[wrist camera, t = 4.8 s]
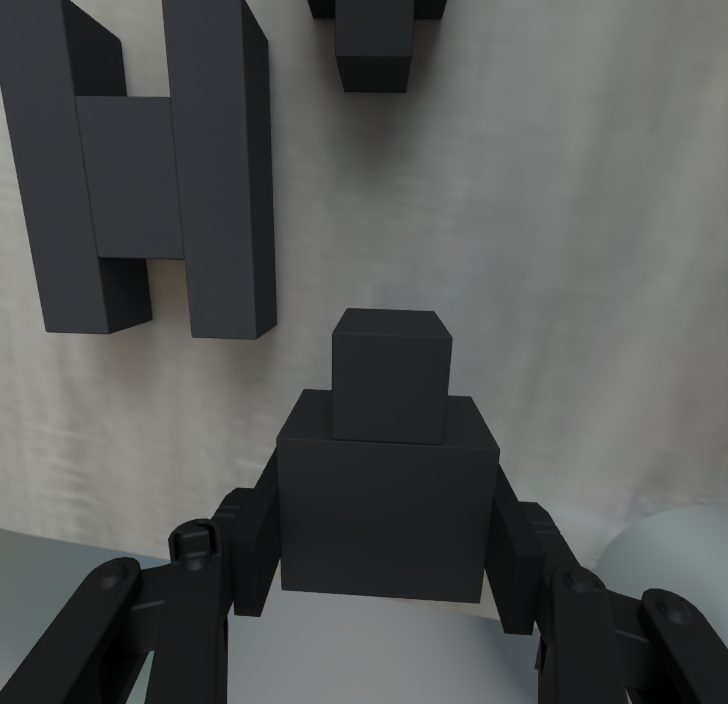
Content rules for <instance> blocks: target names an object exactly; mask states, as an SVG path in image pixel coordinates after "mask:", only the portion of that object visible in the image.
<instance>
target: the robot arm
mask: <svg viewBox="0 0 728 704" xmlns="http://www.w3.org/2000/svg"><path fill="white" fill-rule="evenodd" d="M168 542H169V550H170V558H171V563H170V564H167V565H163V566H159V567H154V568H148V569H143V570H141V568H140V564H139V562H138V561H137V560H135V559H134V558H128V557H122V558H115V559H112V560H110V561H107V562H105V563H103V564H101V565H100V566H98V567H97V568H95V569H94V570H93V571H91V572H90V573H89V574H88V576H87V577H86V578H85V579H84V581H83V582H82V583H81V584H80V586H79V587H78V588H77V590H76V591H75V592H74V594H73V595H72V596H71V598H70V599H69V601H68V602H67V603H66V605H65V606H64V607H63V608H62V610H61V611H60V612H59V614H58V615H57V616H56V618H55V619H54V620H53V622H52V623H51V624H50V626H49V627H48V628H47V630H46V631H45V632H44V634H43V635H42V637H41V638H40V639H39V641H38V642H37V643H36V644H35V646H34V647H33V648H32V650H31V651H30V653H29V654H28V655H27V656H26V658H25V659H24V660H23V662H22V663H21V664H20V666H19V667H18V668H17V670H16V671H15V672H14V674H13V675H12V676H11V678H10V679H9V680H8V682H7V683H6V685H5V686H4V687H3V689H2V690H1V691H0V704H126V701H127V699H128V697H129V695H130V693H131V691H132V688H133V686H134V684H135V682H136V680H137V678H138V675H139V673H140V671H141V669H142V667H143V664H144V662H145V660H146V658H147V656H148V654H149V652H150V651H154V650H155V651H154V657H153V662H152V667H151V672H150V677H149V682H148V687H147V693H146V698H145V703H144V704H227V672H228V670H227V668H228V667H227V666H228V619H227V615H228V612H229V610H230V607H231V605H232V603H233V602H234V615H238V616H254V617H260V616H261V613H262V610H263V607H264V604H265V601H266V598H267V595H268V592H269V589H270V586H271V583H272V580H273V577H274V574H275V571H276V568H277V565H278V562H279V559H280V556H281V535H280V508H279V486H278V473H277V446H276V448H275V450H274V452H273V454H272V456H271V458H270V459H269V461H268V463H267V465H266V467H265V469H264V471H263V473H262V474H261V476H260V478H259V480H258V482H257V484H256V486H255V487H254V488H235V489H234V490H233V491H232V492H230V493H229V494H228V495H226V496H225V498H224V499H223V501H222V502H221V504H220V506H219V508H218V509H217V510H216V512H215V514H214V516H213V517H212V518H211V520H210V519H195V520H191V521H188V522H185V523H184V524H182V525H180V526H178V527H177V528H176V529H175V530H174V531H173V532H171V534H170V536H169V538H168ZM484 567H485V570H486V574H487V577H488V580H489V583H490V587H491V590H492V593H493V597H494V600H495V603H496V607H497V610H498V613H499V616H500V620H501V623H502V626H503V630H504V633H507V634H520V635H532V632H533V627H534V621H536V623H537V626H538V628H539V631H540V633H541V637H540V642H539V648H538V653H537V658H536V664H535V669H537V670H538V704H628V700H627V694H626V690H627V692H628V695H629V697H630V699H631V701H632V704H728V649H727V647H726V646H725V645H724V643H723V642H722V640H721V639H720V637H719V636H718V635H717V633H716V632H715V631H714V629H713V628H712V626H711V625H710V624H709V622H708V621H707V620H706V618H705V617H704V615H703V614H702V613H701V612H700V611H699V610H698V609H697V608H696V607H695V606H694V605H693V604H691V603H690V602H689V601H687V600H686V599H684V598H683V597H681V596H679V595H677V594H675V593H673V592H670V591H666V590H662V589H648V590H646V591H644V593H643V595H642V599H641V600H638V599H635V598H631V597H628V596H625V595H622V594H618V593H615V592H613V591H610V590H608V589H606V587H605V585H604V583H603V582H602V581H601V580H600V579H599V578H598V576H596V575H595V574H594V573H592V572H591V571H589V570H588V569H586V568H583V567H581V566H580V564H579V563H578V561H577V559H576V558H575V556H574V554H573V553H572V551H571V549H570V548H569V546H568V544H567V543H566V541H565V539H564V538H563V536H562V535H561V534H560V531H559V530H558V528H557V526H555V523H554V521H553V520H552V518H551V516H550V515H549V513H548V512H547V511H546V510H545V509H544V508H542V507H541V506H540V505H539V504H538V503H536V502H519V501H518V499H517V497H516V495H515V493H514V491H513V490H512V488H511V486H510V484H509V482H508V480H507V478H506V476H505V474H504V472H503V470H502V468H501V466H500V464H499V463H498V471H497V478H496V486H495V493H494V497H493V503H492V511H491V518H490V526H489V534H488V542H487V550H486V557H485V565H484ZM625 688H626V689H625Z"/></svg>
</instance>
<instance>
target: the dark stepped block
mask: <svg viewBox="0 0 728 704" xmlns="http://www.w3.org/2000/svg"><path fill="white" fill-rule="evenodd" d="M452 340H453V338H452V336H451V335H450V333H449V332H448V330H447V329H446V327H445V326H444V325H443V323H442V322H441V320H440V319H439V317H438V316H437V315H436V313H435V312H434V311H413V310H386V309H358V308H348V309H346V311H345V313H344V314H343V316H342V318H341V319H340V321H339V323H338V324H337V326H336V328H335V329H334V331H333V333H332V390H314V389H304V390H303V392H302V394H301V395H300V397H299V399H298V401H297V402H296V404H295V406H294V408H293V410H292V411H291V413H290V415H289V417H288V418H287V420H286V422H285V424H284V426H283V427H282V429H281V431H280V433H279V435H278V436H277V438H276V444H277V473H278V486H279V508H280V535H281V556H280V559H281V587H282V590H287V591H288V590H289V591H302V592H317V593H331V594H346V595H361V596H375V597H390V598H405V599H419V600H434V601H449V602H463V603H478V604H479V603H480V599H481V591H482V584H483V576H484V569H485V567H484V565H485V557H486V550H487V542H488V534H489V526H490V518H491V511H492V503H493V497H494V493H495V486H496V478H497V471H498V463H499V456H500V448H499V447H498V445H497V443H496V441H495V439H494V437H493V436H492V434H491V432H490V430H489V428H488V427H487V425H486V423H485V421H484V419H483V417H482V416H481V414H480V412H479V410H478V408H477V407H476V405H475V403H474V401H473V399H472V398H471V397H469V396H448V385H449V374H450V362H451V351H452Z"/></svg>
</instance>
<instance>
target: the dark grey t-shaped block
mask: <svg viewBox="0 0 728 704" xmlns="http://www.w3.org/2000/svg"><path fill="white" fill-rule="evenodd" d="M446 2H447V0H308V3H309V7H310V10H311V13H312V16H313V18H335V57H336V61H337V65H338V69H339V73H340V77H341V81H342V85H343V89H344V92H388V93H406V90H407V83H408V77H409V70H410V64H411V57H412V39H413V19H442V17H443V13H444V10H445V6H446Z"/></svg>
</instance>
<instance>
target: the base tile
mask: <svg viewBox="0 0 728 704" xmlns="http://www.w3.org/2000/svg"><path fill="white" fill-rule="evenodd" d="M162 8H163V19H164V31H165V42H166V53H167V64H168V75H169V87H170V97H126V88H125V79H124V71H123V62H122V53H121V44H120V40H119V38H117V37H116V36H115V35H113V34H112V33H111V32H110V31H108V30H107V29H106V28H105V27H103V26H102V25H101V24H100V23H98V22H97V21H96V20H94V19H93V18H92V17H91V16H89V15H88V14H87V13H86V12H84V11H83V10H82V9H80V8H79V7H78V6H77V5H75V4H74V3H73V2H72V1H70V0H0V86H1V92H2V97H3V103H4V108H5V113H6V119H7V124H8V130H9V135H10V140H11V146H12V151H13V156H14V162H15V167H16V173H17V178H18V183H19V189H20V194H21V200H22V205H23V210H24V216H25V221H26V226H27V232H28V237H29V243H30V248H31V253H32V259H33V264H34V270H35V275H36V280H37V286H38V291H39V296H40V302H41V307H42V313H43V318H44V323H45V329H46V332H54V333H83V334H111V333H114V332H117V331H120V330H123V329H126V328H130V327H133V326H136V325H139V324H142V323H145V322H148V321H151V320H152V315H151V307H150V298H149V289H148V280H147V272H146V263H145V259H173V260H185V266H186V277H187V288H188V300H189V311H190V322H191V333H192V337H193V338H221V339H250V340H256V339H258V338H259V337H261V336H262V335H263V334H265V333H266V332H267V331H269V330H270V329H271V328H273V327H274V326H275V325H277V313H276V281H275V250H274V219H273V188H272V157H271V126H270V95H269V64H268V40H267V38H266V37H265V35H264V33H263V31H262V29H261V28H260V26H259V24H258V22H257V21H256V19H255V17H254V15H253V13H252V12H251V10H250V8H249V6H248V4H247V3H246V1H245V0H162Z"/></svg>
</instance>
